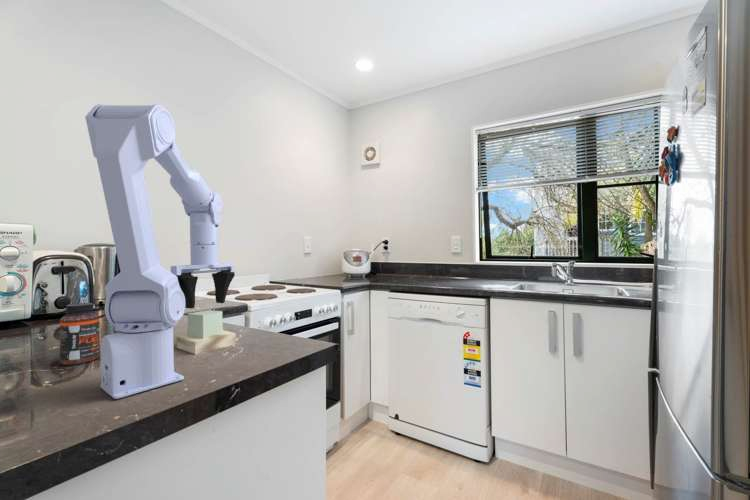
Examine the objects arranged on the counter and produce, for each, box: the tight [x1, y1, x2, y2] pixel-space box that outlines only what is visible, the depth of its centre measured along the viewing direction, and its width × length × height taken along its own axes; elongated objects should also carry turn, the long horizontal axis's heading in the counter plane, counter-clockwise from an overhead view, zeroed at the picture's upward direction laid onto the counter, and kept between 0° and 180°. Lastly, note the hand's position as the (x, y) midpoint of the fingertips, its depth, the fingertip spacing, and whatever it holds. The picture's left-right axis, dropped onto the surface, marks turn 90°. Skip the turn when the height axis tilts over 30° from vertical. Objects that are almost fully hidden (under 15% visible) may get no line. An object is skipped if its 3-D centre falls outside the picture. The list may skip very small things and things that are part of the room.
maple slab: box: [176, 329, 237, 355], centre depth 77 cm, size 9×9×3 cm
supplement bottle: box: [59, 302, 101, 366], centre depth 68 cm, size 6×6×11 cm
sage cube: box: [187, 309, 224, 338], centre depth 77 cm, size 5×5×5 cm
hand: (205, 305), depth 77 cm, fingers open, 7 cm apart
